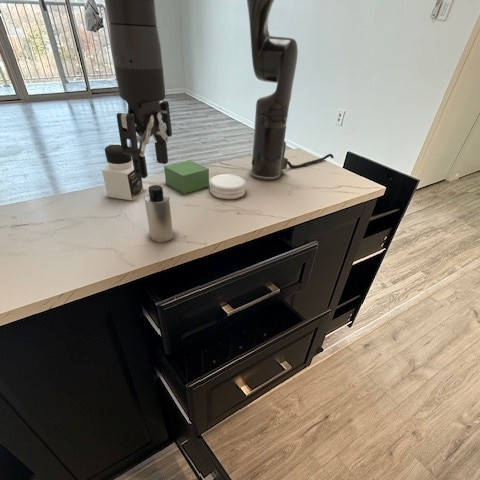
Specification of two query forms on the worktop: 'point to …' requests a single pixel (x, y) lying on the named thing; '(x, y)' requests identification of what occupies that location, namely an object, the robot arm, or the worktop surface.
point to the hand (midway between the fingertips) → (152, 169)
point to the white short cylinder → (227, 186)
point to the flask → (158, 214)
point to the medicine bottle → (120, 174)
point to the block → (186, 176)
